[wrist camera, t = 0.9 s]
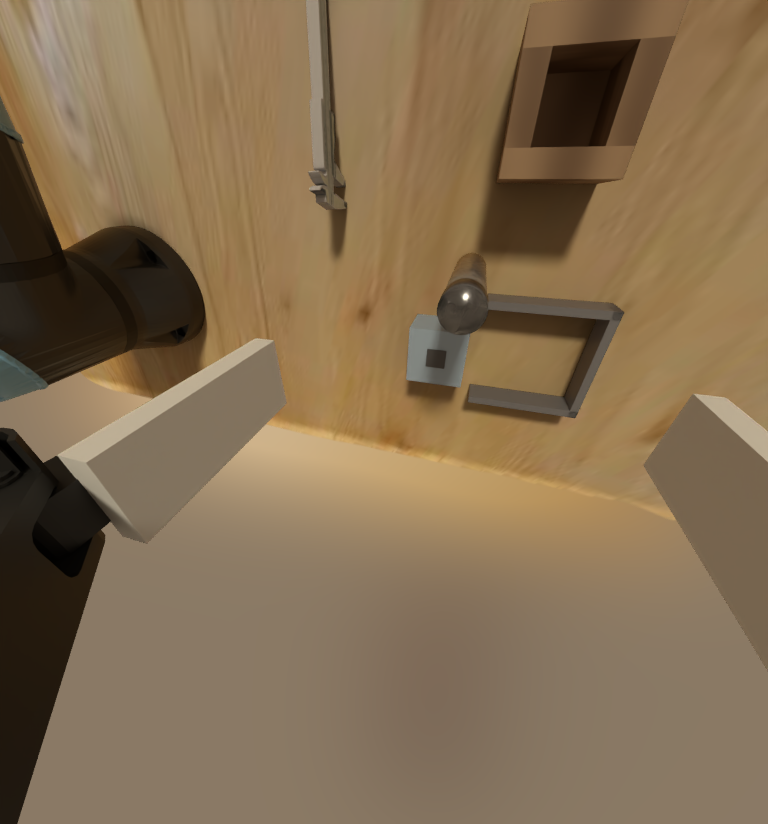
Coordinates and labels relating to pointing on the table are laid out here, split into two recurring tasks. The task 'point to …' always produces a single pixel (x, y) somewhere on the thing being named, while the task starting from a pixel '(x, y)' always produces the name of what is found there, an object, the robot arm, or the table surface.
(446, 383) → the block
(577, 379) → the corral
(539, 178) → the bore block
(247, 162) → the table surface
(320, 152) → the caliper
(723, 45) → the table surface
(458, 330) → the cylinder
